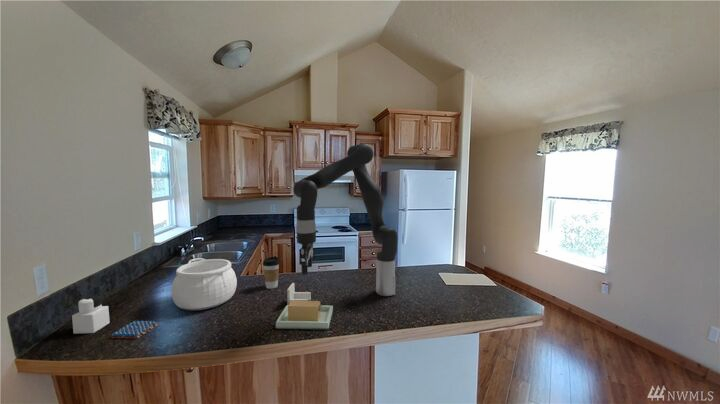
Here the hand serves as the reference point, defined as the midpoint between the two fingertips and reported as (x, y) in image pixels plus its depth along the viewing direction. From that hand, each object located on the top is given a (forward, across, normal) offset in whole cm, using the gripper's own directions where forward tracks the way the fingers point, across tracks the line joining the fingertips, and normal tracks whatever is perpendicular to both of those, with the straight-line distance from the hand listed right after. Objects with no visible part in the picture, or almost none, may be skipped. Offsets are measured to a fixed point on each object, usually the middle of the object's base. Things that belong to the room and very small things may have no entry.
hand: (307, 270), depth 108 cm
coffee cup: (+20, +32, +26) cm, 46 cm away
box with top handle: (+20, -1, +1) cm, 20 cm away
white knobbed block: (+20, -10, +81) cm, 84 cm away
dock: (+20, +13, +7) cm, 25 cm away
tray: (+20, -1, +1) cm, 20 cm away
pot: (+20, +15, +52) cm, 57 cm away
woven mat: (+20, -11, +63) cm, 67 cm away
